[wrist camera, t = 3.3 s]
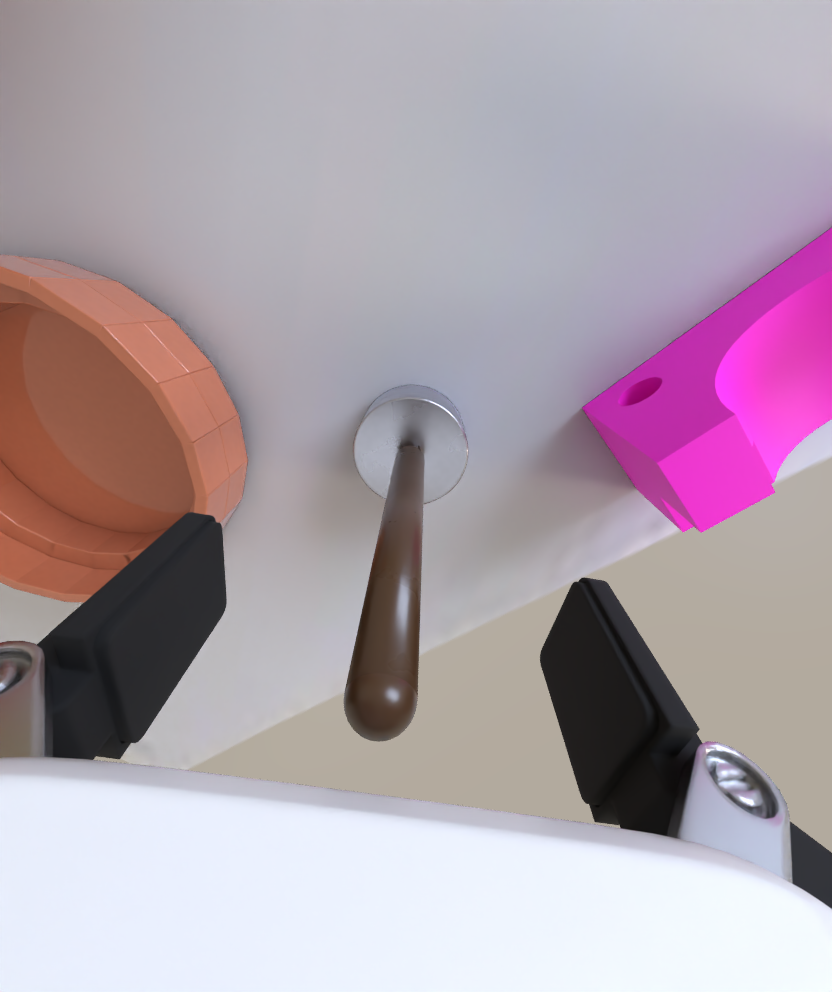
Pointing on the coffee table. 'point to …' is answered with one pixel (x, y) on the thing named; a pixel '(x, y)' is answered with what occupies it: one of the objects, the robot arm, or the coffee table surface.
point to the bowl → (101, 429)
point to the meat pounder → (398, 548)
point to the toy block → (728, 396)
